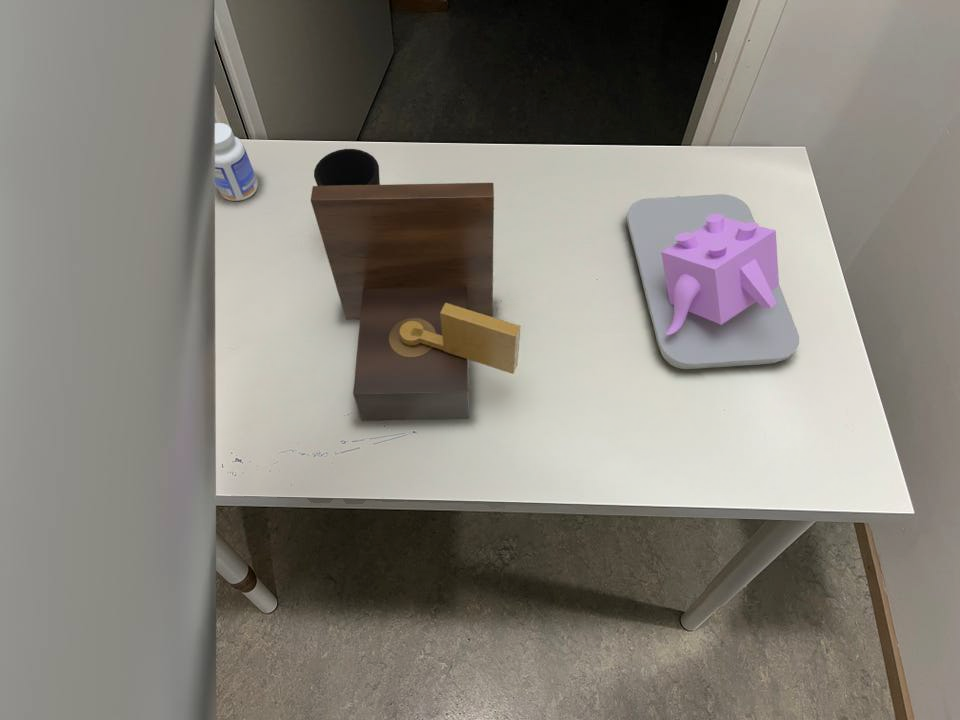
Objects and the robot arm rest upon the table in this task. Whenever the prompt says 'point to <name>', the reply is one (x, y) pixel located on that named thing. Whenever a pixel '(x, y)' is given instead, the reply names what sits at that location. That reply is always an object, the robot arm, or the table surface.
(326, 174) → the cup
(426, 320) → the case
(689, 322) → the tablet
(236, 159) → the pill bottle
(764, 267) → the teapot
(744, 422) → the table surface
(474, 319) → the lever
